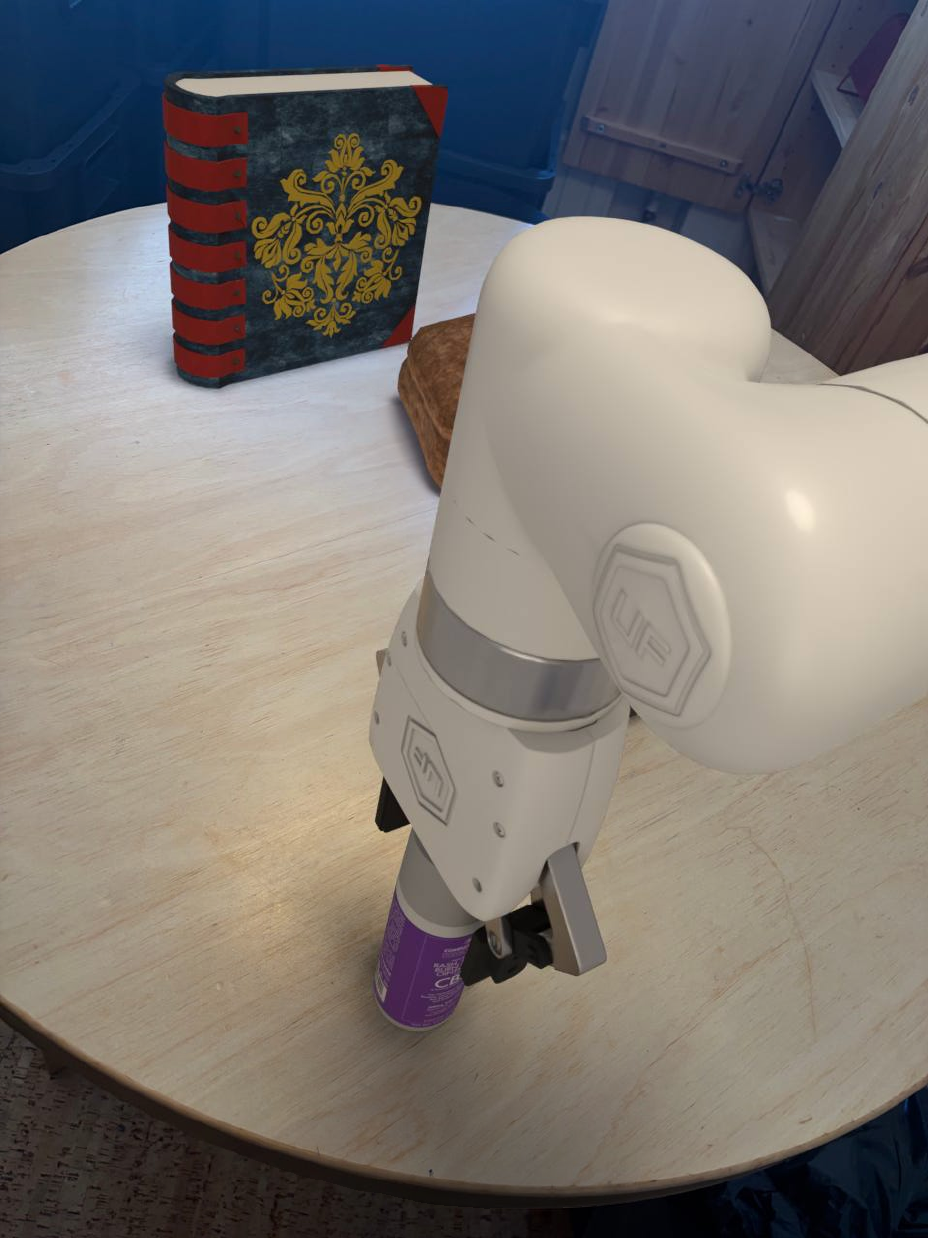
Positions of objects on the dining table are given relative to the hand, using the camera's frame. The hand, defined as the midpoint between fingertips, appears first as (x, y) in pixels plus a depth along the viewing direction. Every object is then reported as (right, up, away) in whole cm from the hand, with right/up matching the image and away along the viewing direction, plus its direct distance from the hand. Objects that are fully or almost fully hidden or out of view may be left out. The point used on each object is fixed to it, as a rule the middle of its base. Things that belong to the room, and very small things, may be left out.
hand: (447, 888), depth 44 cm
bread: (+9, +29, +48) cm, 57 cm away
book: (-16, +39, +52) cm, 67 cm away
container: (-2, -8, +7) cm, 10 cm away
